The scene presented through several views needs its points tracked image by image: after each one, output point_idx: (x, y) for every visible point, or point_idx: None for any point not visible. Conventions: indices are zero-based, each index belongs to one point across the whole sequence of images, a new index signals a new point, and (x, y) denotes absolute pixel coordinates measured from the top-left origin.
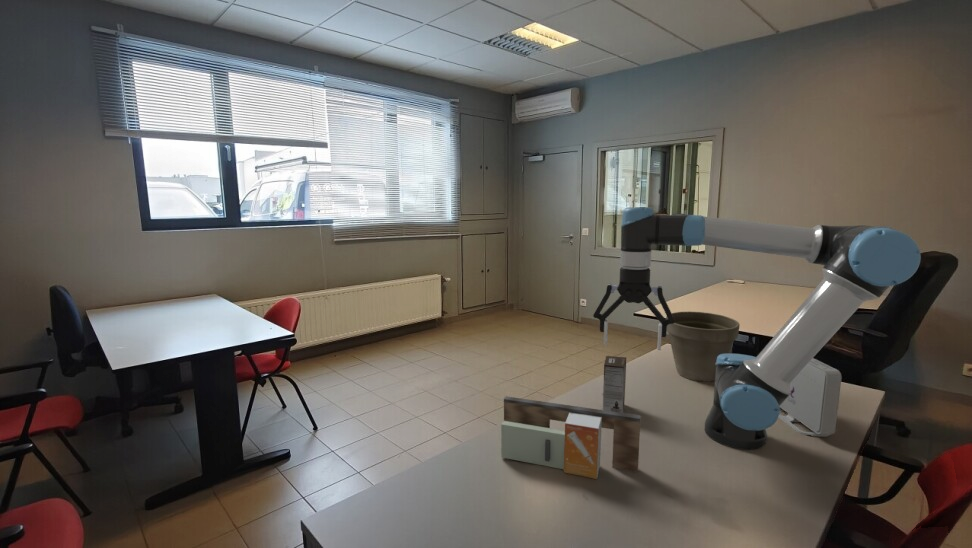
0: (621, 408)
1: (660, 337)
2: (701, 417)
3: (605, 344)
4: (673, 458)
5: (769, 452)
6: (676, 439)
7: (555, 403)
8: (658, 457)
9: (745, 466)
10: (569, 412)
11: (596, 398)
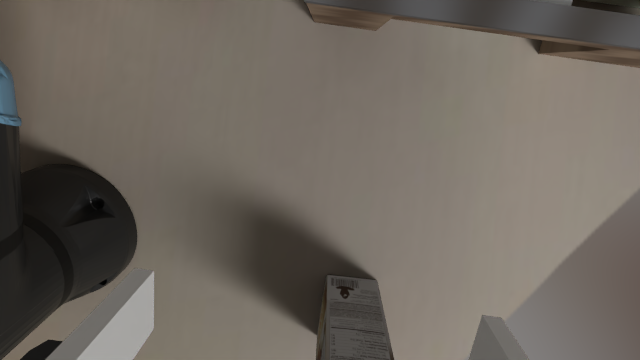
0: (330, 286)
1: (84, 328)
2: None
3: (490, 318)
4: (224, 90)
5: None
6: (207, 183)
7: (631, 45)
8: (259, 88)
9: (65, 88)
10: (570, 4)
11: None
